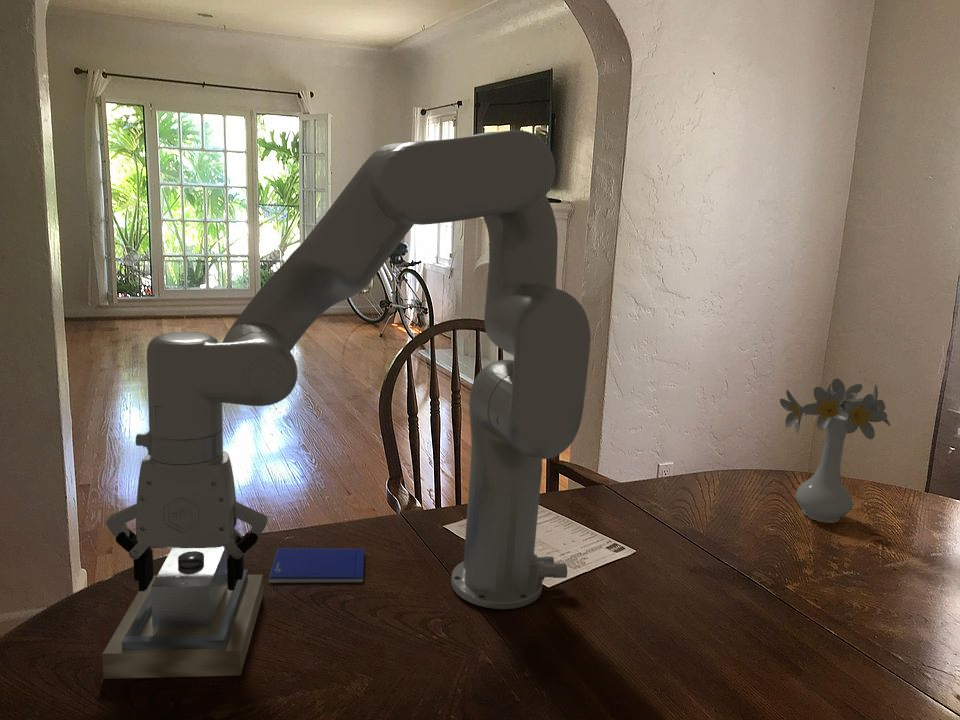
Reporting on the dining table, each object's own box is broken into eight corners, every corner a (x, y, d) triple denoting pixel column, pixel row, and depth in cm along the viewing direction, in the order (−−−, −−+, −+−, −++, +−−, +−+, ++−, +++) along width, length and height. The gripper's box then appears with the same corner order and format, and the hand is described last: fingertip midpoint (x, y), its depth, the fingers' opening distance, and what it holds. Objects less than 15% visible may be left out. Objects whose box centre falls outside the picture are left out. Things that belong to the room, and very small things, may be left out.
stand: (262, 595, 95) (262, 567, 95) (240, 675, 80) (240, 642, 79) (149, 596, 93) (147, 568, 92) (103, 678, 78) (101, 645, 77)
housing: (209, 635, 82) (208, 579, 80) (152, 636, 81) (150, 580, 79) (227, 587, 91) (226, 536, 90) (176, 587, 90) (174, 536, 89)
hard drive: (269, 575, 98) (363, 575, 100) (277, 546, 106) (364, 547, 108) (269, 586, 99) (362, 586, 101) (277, 556, 107) (364, 556, 108)
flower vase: (752, 504, 136) (773, 373, 130) (837, 500, 140) (862, 374, 135) (796, 536, 124) (822, 393, 118) (889, 532, 128) (918, 394, 122)
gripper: (90, 455, 77) (98, 603, 80) (262, 458, 79) (262, 601, 83) (115, 432, 84) (121, 568, 88) (272, 435, 86) (271, 568, 90)
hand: (190, 584), depth 85 cm, fingers open, 9 cm apart
